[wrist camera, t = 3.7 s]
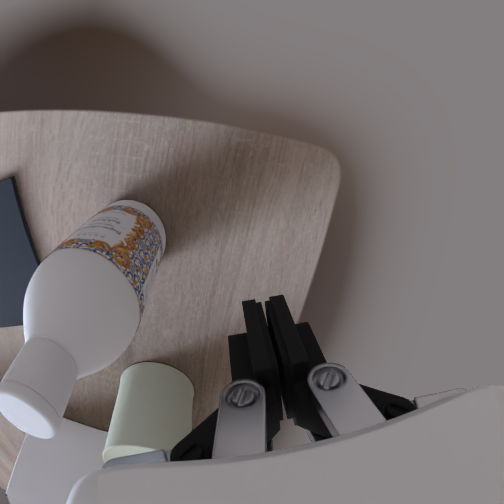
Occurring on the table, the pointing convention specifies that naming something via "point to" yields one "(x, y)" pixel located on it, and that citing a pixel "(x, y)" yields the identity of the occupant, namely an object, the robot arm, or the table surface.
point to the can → (149, 410)
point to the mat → (14, 255)
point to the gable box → (55, 464)
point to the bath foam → (81, 312)
